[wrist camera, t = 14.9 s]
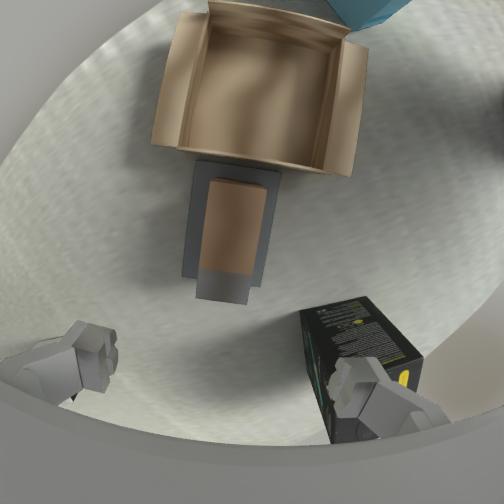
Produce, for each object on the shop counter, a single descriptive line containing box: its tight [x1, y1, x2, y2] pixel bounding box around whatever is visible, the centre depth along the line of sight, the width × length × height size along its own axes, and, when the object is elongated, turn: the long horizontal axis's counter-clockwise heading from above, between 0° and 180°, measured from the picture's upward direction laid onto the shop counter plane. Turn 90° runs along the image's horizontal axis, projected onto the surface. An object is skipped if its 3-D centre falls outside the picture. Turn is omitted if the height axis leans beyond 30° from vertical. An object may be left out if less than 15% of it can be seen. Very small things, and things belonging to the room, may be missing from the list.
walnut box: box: [196, 177, 267, 305], centre depth 28 cm, size 4×10×8 cm, turn 170°
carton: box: [150, 0, 368, 177], centre depth 25 cm, size 19×15×8 cm
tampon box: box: [300, 296, 424, 444], centre depth 30 cm, size 11×9×15 cm
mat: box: [182, 160, 281, 287], centre depth 32 cm, size 9×13×1 cm
